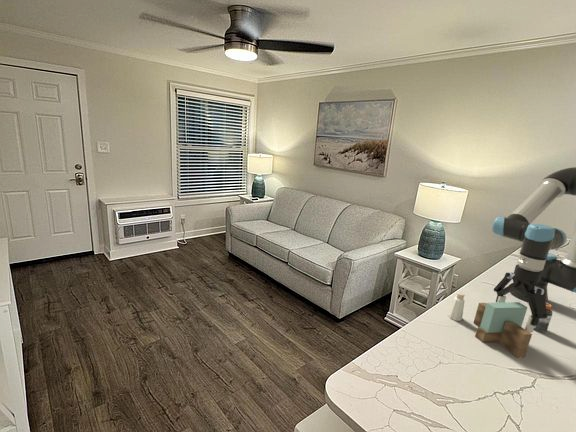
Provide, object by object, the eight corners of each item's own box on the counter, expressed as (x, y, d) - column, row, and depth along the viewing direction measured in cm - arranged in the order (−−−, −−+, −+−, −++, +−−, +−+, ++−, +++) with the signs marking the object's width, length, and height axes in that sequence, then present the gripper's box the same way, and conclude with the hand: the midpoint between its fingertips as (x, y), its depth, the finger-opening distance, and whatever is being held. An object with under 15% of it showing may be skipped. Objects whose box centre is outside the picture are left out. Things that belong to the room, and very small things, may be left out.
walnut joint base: (459, 323, 123) (464, 303, 121) (493, 322, 126) (499, 302, 124) (501, 358, 104) (508, 335, 102) (540, 356, 108) (547, 333, 105)
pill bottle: (529, 322, 129) (537, 298, 126) (547, 329, 125) (555, 304, 122) (526, 327, 125) (534, 302, 122) (545, 335, 121) (554, 309, 118)
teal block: (511, 325, 118) (518, 302, 115) (519, 331, 114) (527, 307, 112) (480, 326, 115) (486, 302, 112) (487, 332, 111) (494, 307, 109)
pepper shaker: (444, 314, 129) (450, 290, 126) (453, 312, 131) (459, 289, 128) (455, 322, 124) (462, 297, 121) (465, 320, 126) (471, 295, 123)
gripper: (492, 254, 120) (478, 303, 125) (555, 283, 97) (534, 343, 102) (508, 254, 121) (494, 303, 127) (574, 283, 98) (553, 342, 104)
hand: (512, 321), depth 115 cm, fingers open, 12 cm apart
